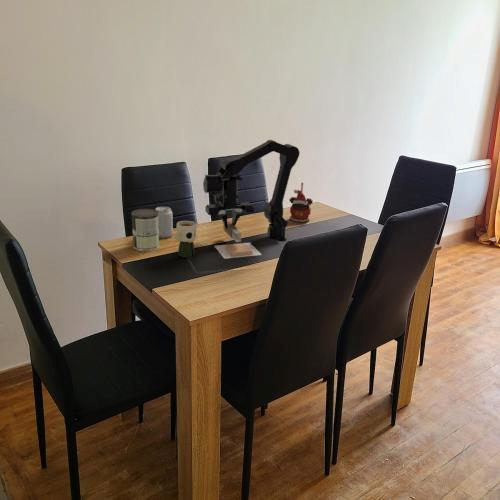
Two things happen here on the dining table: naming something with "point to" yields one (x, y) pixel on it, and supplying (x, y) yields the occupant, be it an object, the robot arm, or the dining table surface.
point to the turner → (232, 232)
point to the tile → (238, 249)
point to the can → (165, 222)
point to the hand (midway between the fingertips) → (229, 228)
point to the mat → (227, 255)
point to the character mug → (186, 238)
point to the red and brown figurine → (300, 206)
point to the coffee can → (145, 229)
